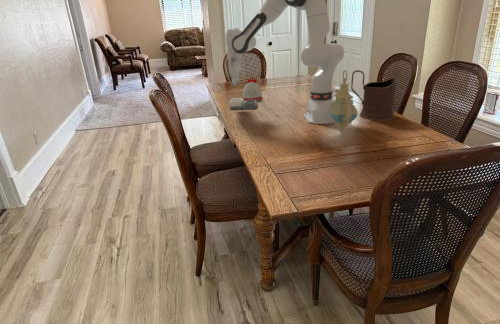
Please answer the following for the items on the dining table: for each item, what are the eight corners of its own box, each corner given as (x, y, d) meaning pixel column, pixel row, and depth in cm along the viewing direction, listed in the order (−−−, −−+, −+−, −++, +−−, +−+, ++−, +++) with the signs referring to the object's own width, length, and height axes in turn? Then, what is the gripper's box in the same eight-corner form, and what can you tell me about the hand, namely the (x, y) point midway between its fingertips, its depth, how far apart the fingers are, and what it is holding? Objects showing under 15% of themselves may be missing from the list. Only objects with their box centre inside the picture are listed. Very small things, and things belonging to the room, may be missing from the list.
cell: (238, 84, 215) (237, 70, 212) (232, 84, 216) (231, 70, 212) (239, 83, 219) (238, 69, 215) (233, 83, 219) (232, 69, 216)
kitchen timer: (261, 100, 236) (261, 78, 230) (242, 101, 237) (240, 79, 231) (261, 95, 249) (261, 74, 243) (242, 96, 250) (241, 75, 244)
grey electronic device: (254, 109, 216) (254, 101, 214) (230, 109, 218) (229, 102, 217) (257, 104, 227) (257, 97, 225) (233, 104, 229) (233, 97, 227)
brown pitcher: (397, 121, 181) (403, 72, 171) (350, 120, 186) (353, 73, 176) (391, 111, 198) (396, 66, 188) (348, 111, 203) (351, 67, 192)
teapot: (323, 125, 180) (326, 67, 167) (345, 124, 180) (349, 65, 167) (336, 141, 158) (339, 75, 145) (360, 140, 158) (366, 74, 146)
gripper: (236, 58, 201) (237, 82, 206) (242, 54, 219) (243, 76, 225) (225, 59, 202) (227, 82, 207) (232, 54, 220) (233, 76, 226)
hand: (235, 79), depth 216 cm, fingers closed on cell, 4 cm apart
